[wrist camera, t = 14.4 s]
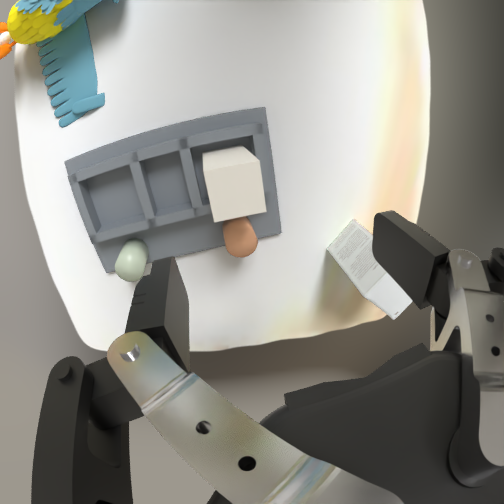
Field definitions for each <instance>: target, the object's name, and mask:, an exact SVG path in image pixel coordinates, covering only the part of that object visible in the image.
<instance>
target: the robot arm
mask: <svg viewBox="0 0 504 504" xmlns="http://www.w3.org/2000/svg"><path fill="white" fill-rule="evenodd" d="M372 252H373V256H374V258H375V260H376V261H377V262H378V263H379V264H380V266H381V267H382V268H383V269H384V270H385V271H386V272H387V273H388V274H389V275H390V276H391V277H392V278H393V279H394V281H395V282H396V283H397V284H398V285H399V286H400V287H401V288H402V289H403V290H404V292H405V293H406V294H407V295H408V296H409V297H410V298H411V299H412V301H413V302H414V303H415V304H416V305H417V306H418V308H419V309H423V308H425V307H427V306H430V305H432V306H433V308H432V311H431V349H430V351H428V350H427V348H426V347H425V345H424V344H423V343H421V344H419V345H417V346H414V347H412V348H410V349H408V350H406V351H404V352H402V353H399V354H397V355H395V356H394V357H392V358H391V359H390V360H388V361H387V362H386V363H385V364H383V365H382V366H381V367H379V368H378V369H377V370H375V371H374V372H373V373H371V374H370V375H368V376H367V377H364V378H358V379H351V380H343V381H334V382H323V383H320V384H317V385H314V386H311V387H307V388H304V389H300V390H297V391H293V392H290V393H286V394H284V397H285V405H283V406H281V407H280V408H278V409H277V410H275V411H273V412H272V413H270V414H269V415H268V416H266V417H265V418H264V419H263V420H262V421H261V422H260V423H257V422H256V421H254V420H253V419H252V418H250V417H249V416H248V415H246V414H245V413H243V412H242V411H241V410H239V409H238V408H237V407H235V406H234V405H233V404H232V403H230V402H229V401H228V400H226V399H225V398H224V397H223V396H221V395H220V394H219V393H218V392H216V391H215V390H214V389H213V388H212V387H210V386H209V385H208V384H207V383H205V382H204V381H203V380H202V379H201V378H200V377H198V376H197V375H196V374H194V373H193V372H190V355H189V354H190V353H189V301H188V296H187V292H186V289H185V286H184V283H183V280H182V277H181V275H180V272H179V269H178V266H177V263H176V260H175V258H174V257H173V256H171V257H167V258H162V259H158V260H154V261H153V264H152V269H151V273H150V275H147V276H143V277H142V279H141V280H140V281H139V283H138V284H137V285H136V288H135V292H134V295H133V296H134V298H133V299H132V303H131V304H132V306H131V307H130V312H129V316H128V320H127V325H126V329H125V334H123V335H121V336H120V337H118V338H117V339H116V340H115V341H114V342H113V343H112V344H111V345H110V347H109V349H108V353H107V357H105V358H103V359H101V360H98V361H96V362H94V363H91V364H89V365H85V364H84V363H83V362H82V361H81V360H80V359H79V358H77V357H74V356H70V357H66V358H64V359H62V360H60V361H59V362H58V363H57V364H56V365H55V366H54V367H53V369H52V370H51V372H50V374H49V378H48V382H47V386H46V390H45V394H44V398H43V403H42V408H41V412H40V418H39V423H38V429H37V435H36V442H35V450H34V459H33V471H32V493H31V494H32V496H31V497H32V498H31V499H32V500H31V504H133V498H132V487H131V475H130V456H129V421H132V420H134V419H137V418H140V417H142V416H145V417H146V418H147V419H148V420H149V422H150V423H151V424H152V425H153V426H154V428H155V429H156V430H157V431H158V432H159V433H160V435H161V436H162V437H163V438H164V439H165V440H166V441H167V442H168V443H169V445H170V446H171V447H172V448H173V449H174V450H175V451H176V452H177V453H178V454H179V455H180V456H181V457H182V458H183V459H184V460H185V461H186V462H187V463H188V464H189V465H190V466H191V467H192V468H193V469H194V470H195V471H196V472H197V473H198V474H199V475H200V476H201V477H202V478H203V479H204V480H205V481H207V482H208V483H209V484H210V485H211V486H212V487H214V489H216V490H215V492H214V493H213V495H212V497H211V498H210V500H209V501H208V503H207V504H504V249H503V248H494V249H493V250H492V252H491V255H490V258H489V260H484V261H480V259H479V258H478V257H477V256H476V255H474V254H473V253H471V252H469V251H467V250H463V249H455V250H452V251H450V250H449V249H448V248H446V247H445V246H444V245H443V244H441V243H440V242H439V241H437V240H436V239H435V238H434V237H432V236H430V234H428V233H427V232H426V231H423V229H422V228H420V227H419V226H417V225H416V224H414V223H412V222H409V221H408V220H406V219H405V218H404V217H402V216H401V215H399V214H398V213H396V212H395V211H386V212H381V213H377V214H376V215H375V217H374V228H373V240H372Z"/></svg>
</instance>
